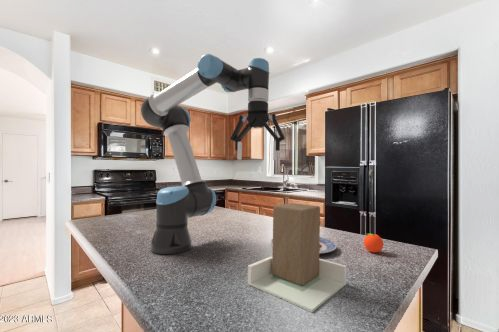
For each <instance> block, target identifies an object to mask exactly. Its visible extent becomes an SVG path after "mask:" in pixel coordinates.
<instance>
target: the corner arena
mask: <svg viewBox="0 0 499 332" xmlns="http://www.w3.org/2000/svg"><path fill="white" fill-rule="evenodd" d="M247 285H249V286H252V287H254V288H255V289H258V290H261V291H263V292H265V293H267V294H269V295H271V294H272V295H271V296H274V297H276V296H277V297H276V298H278V297H279V298H278V299H280V298H282V299H281V300H283V301H285V302H287V301H288V302H287V303H289V302H290V304H292V305H294V306H295V307H298V306H299V308H301V309H304V310H305V311H308V312H310V313H313V312H315V311H316V310H317V309H318V308H319V307H321V306H322V305H323V304H324V303H325V302H327V301H328V300H329V299H330V298H331V297H333V296H334V295H335V294H337V292H338V291H340V290H341V289H342V288H343V287H345V286H346V285H347V265H345V264H342V263H337V262H334V261H330V260H327V259H322V258H320V257H319V275H318V276H317V277H315V278H314V279H312V280H311V281H309V282H308V283H306V284H305V285H303V286H301V285H298V284H295V283H292V282H290V281H287V280H284V279H281V278H279V277H276V276H273V275H272V255H271V256H268V257H267V258H263V259H261V260H258V261H256V262H254V263H251V264H248V265H247Z"/></svg>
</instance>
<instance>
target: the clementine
mask: <svg viewBox="0 0 499 332" xmlns="http://www.w3.org/2000/svg"><path fill="white" fill-rule="evenodd" d="M364 236H365V237H364ZM363 237H364V238H363ZM361 238H363V246H364V248H365V249H366V250H367V251H368V252H371V253H374V254H375V253H379V252H381V251H382V250H383V248H384V241H383V239H382V237H381V236H380V235H378V234H374V233H368V234H367V233H365V234H363V236H361Z"/></svg>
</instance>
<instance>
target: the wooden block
mask: <svg viewBox="0 0 499 332" xmlns="http://www.w3.org/2000/svg"><path fill="white" fill-rule="evenodd" d="M272 209H273V211H272V218H273V219H272V239H273V244H272V255H271V256H272V275H273V276H276V277H279V278H281V279H284V280H287V281H290V282H292V283H295V284H298V285H301V286H303V285H305V284H306V283H308V282H309V281H311V280H312V279H314V278H315V277H317V276H318V275H319V258H320V254H319V244H320V237H321V235H320V234H321V233H320V232H321V231H320V230H321V228H320V227H321V226H320V225H321V224H320V223H321V207H320V206H319V205H311V204H303V203H292V202H291V203H289V202H288V203H285V204H283V203H282V204H277V205H273V207H272Z"/></svg>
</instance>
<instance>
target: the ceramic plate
mask: <svg viewBox="0 0 499 332" xmlns="http://www.w3.org/2000/svg"><path fill="white" fill-rule="evenodd" d="M270 240H271V241H270V243H271V245H273V238H272V239H270ZM337 247H338V246H337V244H336V243H335V242H334V241H332V240H331V239H328V238H324V237H321V236H320V244H319V255H321V254H327V253H330V252H333V251H335V250H336V249H337Z"/></svg>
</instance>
